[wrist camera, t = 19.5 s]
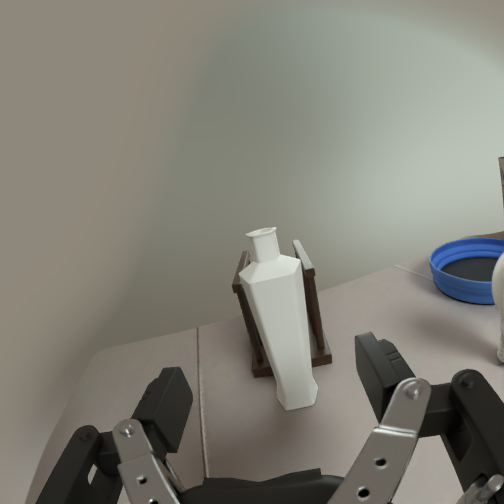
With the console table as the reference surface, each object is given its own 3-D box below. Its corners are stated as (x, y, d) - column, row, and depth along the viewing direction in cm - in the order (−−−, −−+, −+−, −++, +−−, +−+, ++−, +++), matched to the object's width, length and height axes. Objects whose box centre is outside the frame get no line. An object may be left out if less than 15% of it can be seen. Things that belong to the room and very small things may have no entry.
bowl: (410, 295, 33) (409, 271, 33) (450, 253, 42) (450, 234, 41) (527, 318, 18) (533, 289, 17) (534, 262, 26) (536, 241, 25)
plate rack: (332, 362, 26) (318, 266, 23) (254, 378, 26) (226, 286, 24) (314, 311, 37) (301, 238, 35) (258, 323, 38) (239, 252, 36)
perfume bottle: (278, 379, 25) (240, 229, 22) (323, 378, 24) (295, 219, 20) (265, 412, 21) (215, 245, 18) (316, 413, 20) (282, 234, 16)
